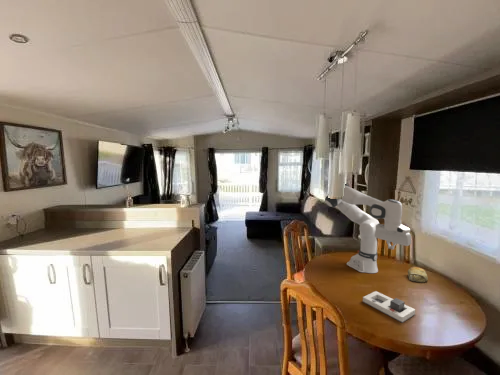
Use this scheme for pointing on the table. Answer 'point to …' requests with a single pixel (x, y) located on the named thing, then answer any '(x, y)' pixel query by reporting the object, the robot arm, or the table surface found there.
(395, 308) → the plug
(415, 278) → the pastry
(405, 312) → the socket board
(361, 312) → the table surface
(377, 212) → the robot arm
